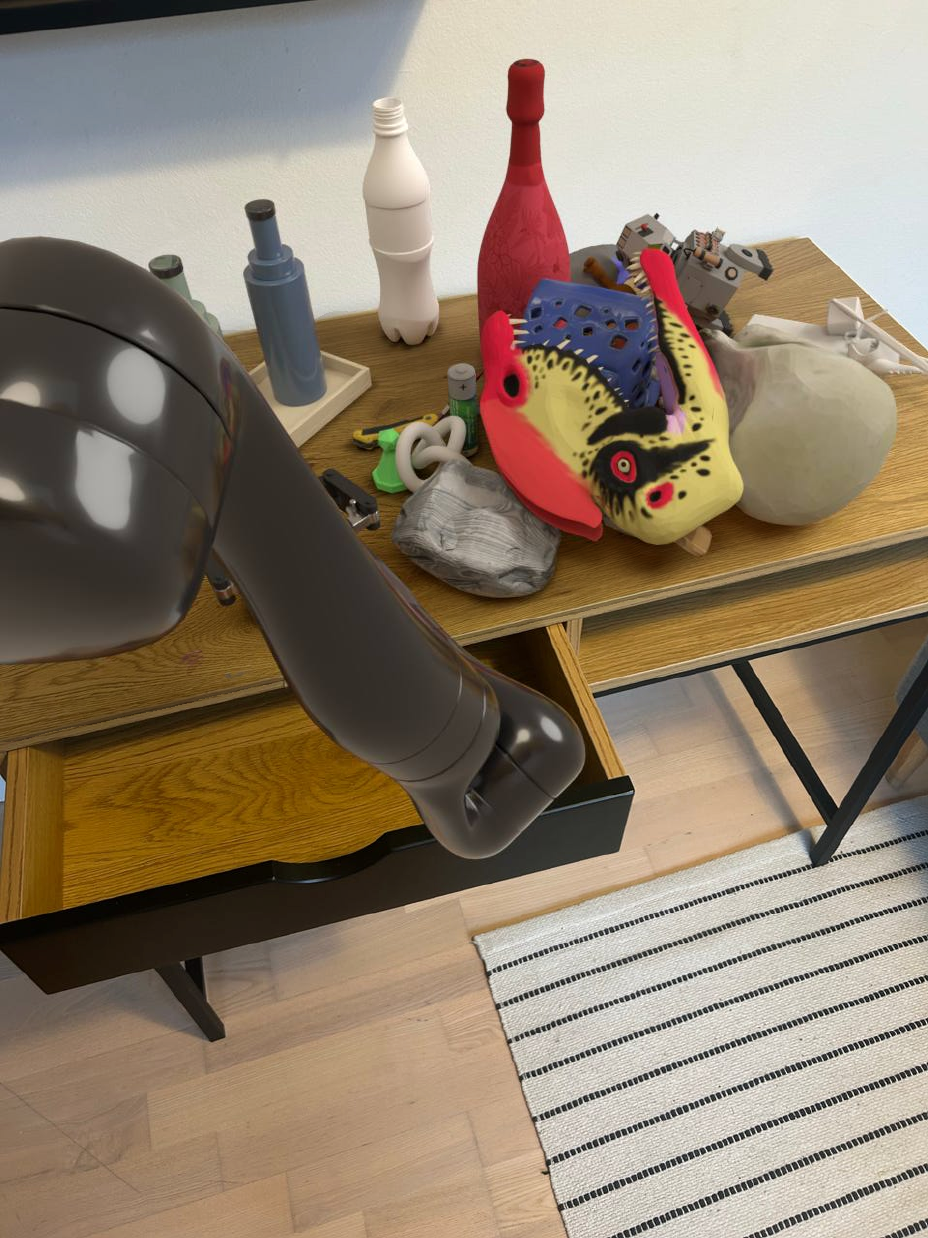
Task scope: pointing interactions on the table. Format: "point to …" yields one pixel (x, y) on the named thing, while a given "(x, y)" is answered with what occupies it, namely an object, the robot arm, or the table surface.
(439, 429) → the knot
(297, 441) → the tray
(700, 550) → the sandal
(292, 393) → the slate-blue bottle
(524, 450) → the toy
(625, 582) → the table surface
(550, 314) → the flower pot
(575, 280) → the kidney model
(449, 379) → the battery
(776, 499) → the skull
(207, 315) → the grey-green bottle
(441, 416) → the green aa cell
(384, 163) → the water bottle
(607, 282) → the toy figurine
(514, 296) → the wine bottle
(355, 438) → the utility knife
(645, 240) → the figurine
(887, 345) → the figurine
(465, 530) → the decorative stone
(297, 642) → the robot arm
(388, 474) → the game piece
